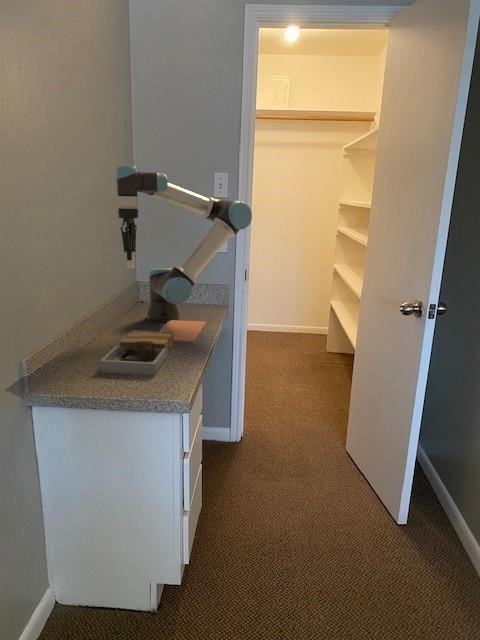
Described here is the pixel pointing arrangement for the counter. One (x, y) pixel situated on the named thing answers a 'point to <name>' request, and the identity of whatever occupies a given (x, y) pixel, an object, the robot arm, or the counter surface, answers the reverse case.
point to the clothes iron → (139, 351)
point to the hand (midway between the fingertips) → (130, 268)
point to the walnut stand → (150, 339)
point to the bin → (132, 363)
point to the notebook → (184, 330)
